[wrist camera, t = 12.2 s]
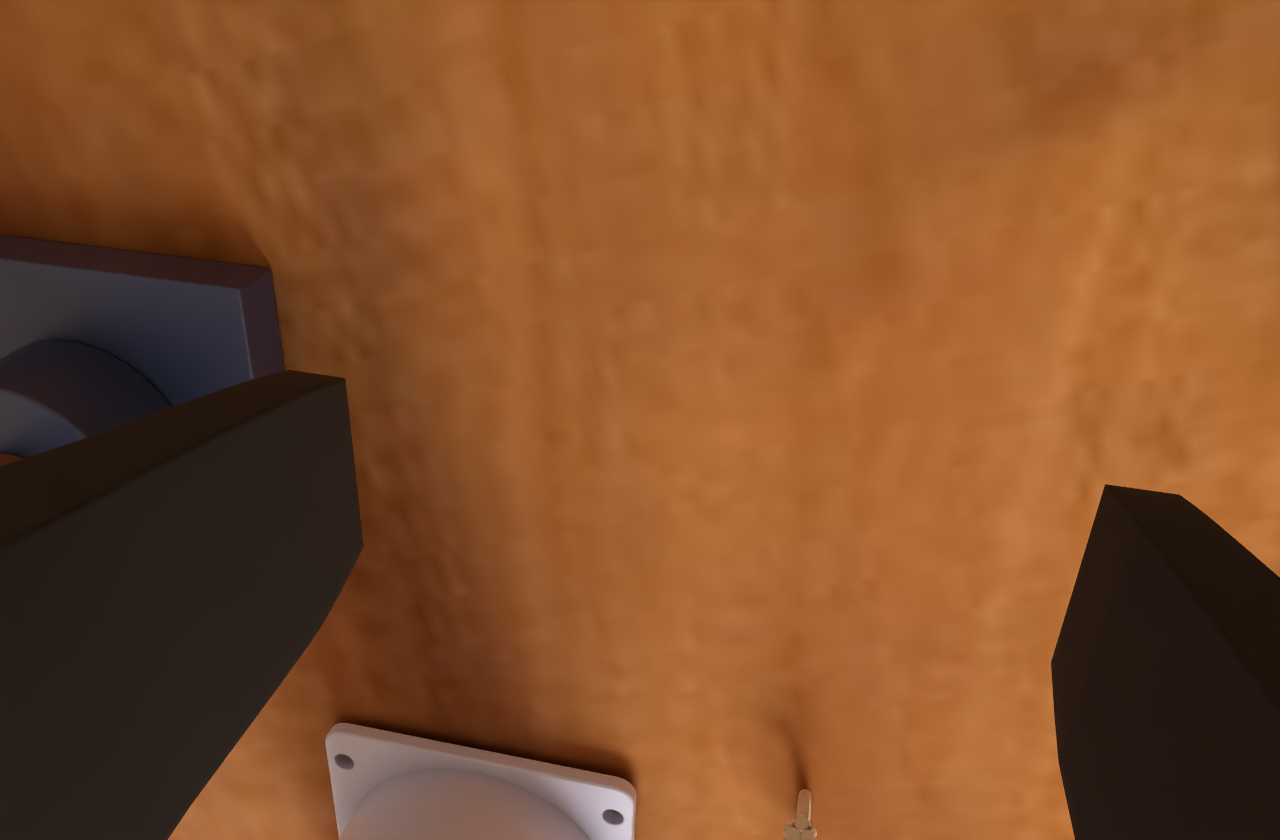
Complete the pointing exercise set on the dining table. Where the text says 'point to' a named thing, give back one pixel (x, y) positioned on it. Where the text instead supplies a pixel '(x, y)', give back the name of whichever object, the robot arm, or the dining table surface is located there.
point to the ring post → (120, 337)
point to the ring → (801, 820)
